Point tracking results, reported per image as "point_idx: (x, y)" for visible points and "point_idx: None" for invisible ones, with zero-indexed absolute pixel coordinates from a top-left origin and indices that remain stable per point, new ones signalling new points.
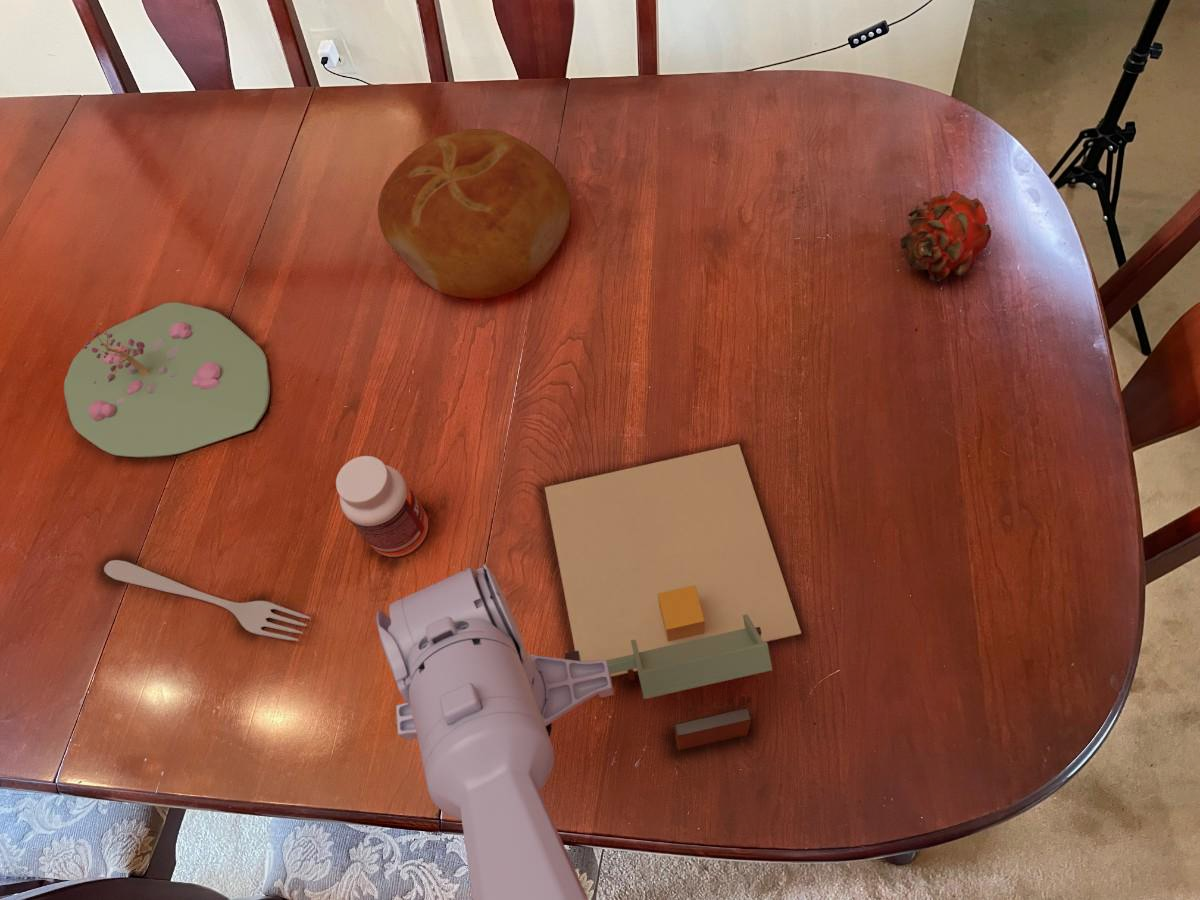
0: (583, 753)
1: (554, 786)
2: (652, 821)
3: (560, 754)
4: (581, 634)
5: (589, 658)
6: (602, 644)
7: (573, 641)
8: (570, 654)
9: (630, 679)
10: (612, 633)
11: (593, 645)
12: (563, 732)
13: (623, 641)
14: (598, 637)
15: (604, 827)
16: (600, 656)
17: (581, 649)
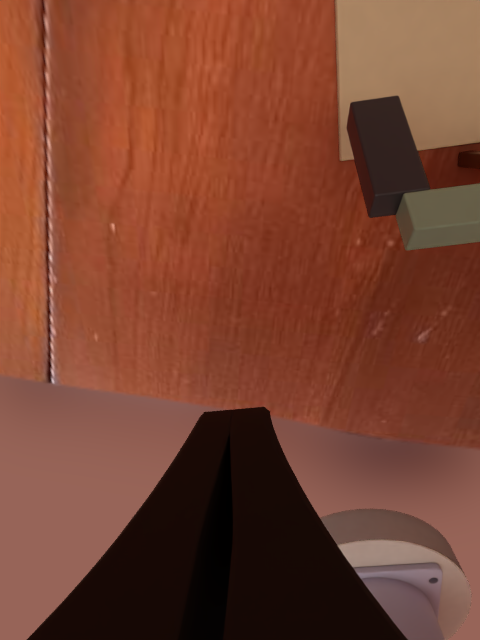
0: (321, 309)
1: (259, 359)
2: (423, 422)
3: (274, 307)
4: (364, 11)
5: (373, 94)
6: (416, 52)
7: (337, 33)
8: (373, 112)
9: (468, 167)
10: (452, 18)
11: (391, 53)
12: (284, 266)
13: (477, 49)
14: (410, 27)
15: (340, 423)
16: (404, 90)
17: (356, 63)
